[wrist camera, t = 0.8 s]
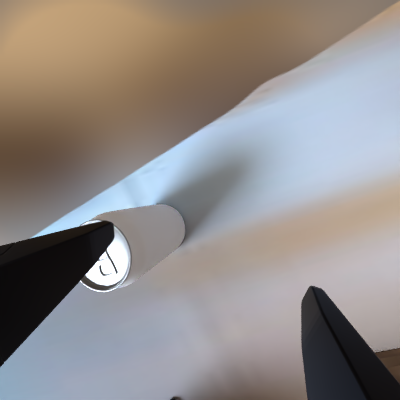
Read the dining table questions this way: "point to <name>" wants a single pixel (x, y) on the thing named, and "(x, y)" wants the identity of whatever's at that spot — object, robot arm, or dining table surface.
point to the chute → (391, 361)
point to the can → (135, 245)
